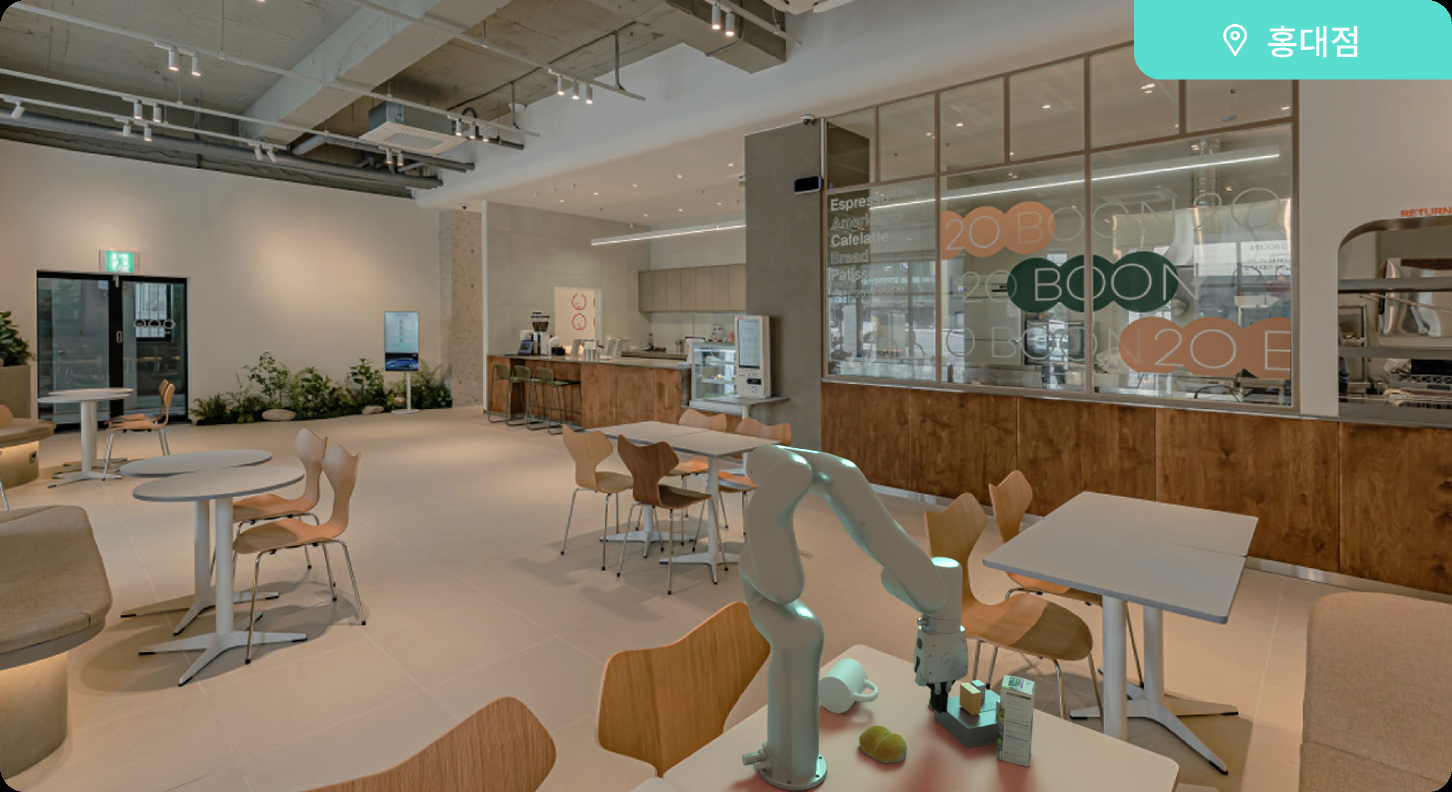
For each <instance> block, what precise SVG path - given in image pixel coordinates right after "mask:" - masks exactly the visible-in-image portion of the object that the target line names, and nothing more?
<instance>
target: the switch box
mask: <svg viewBox="0 0 1452 792" xmlns="http://www.w3.org/2000/svg"><path fill="white" fill-rule="evenodd" d="M970 684H971V685H972V686H974V687H975V688H976V689H978V690H979V691H980V692H981V709H980V713H979V714H974V715H971V714H970V713H969V712H968V711H967V710H965V709H964V708H963V707H962V706H960V695H956V696H955V695H954V696H951V697H950V696H948V705H947V712H945V713H944V712H942V713H938V712H937V711H936V710H935V711H934V714H933V715H934V717H933V719H934V720H935V721H937V723H939V724H940V725H941V726H942V727H943V728H945V730H947V732H949V733H950V734H951V735H952V736H953V737H954V738H956V740H958V741H959V742H960V743H961V744H962V745H963V746H964V747H965V748H966V749H971V748H976V747H982V746H986V745H990V744H996V743H997V742H998V724H999V707H1000V695H999V694H997V692H994V691H993V690H992V689H986V686H987V685H986V684H985V683H984V682H982V681H981V680H979V679H976V680H971V681H970Z"/></svg>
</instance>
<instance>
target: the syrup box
mask: <svg viewBox="0 0 1452 792" xmlns="http://www.w3.org/2000/svg"><path fill="white" fill-rule="evenodd" d="M1035 689H1036V682H1035V681H1032V680H1030V679H1026V678H1023V677H1019V676H1013V675H1006V674H1004V675H1003V679H1002V683H1001V687H1000V692H999V694H1000V695H999V696H1000V707H999V724H998V742H996V743H997V746H996V759H997V760H999V761H1004V762H1007V763H1011V764H1015V765H1020V766H1023V767H1026V768H1028V767H1030V761H1031V753H1032V752H1031V751H1032V741H1033V728H1034V727H1033V726H1034V725H1033V722H1034V707H1035Z"/></svg>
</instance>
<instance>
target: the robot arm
mask: <svg viewBox="0 0 1452 792" xmlns="http://www.w3.org/2000/svg"><path fill="white" fill-rule="evenodd" d="M745 470H746V474H747V475H746V476H747V477H748V479H749V481H751V483H752V484H753V485H755V487H757V488H756V489H755V491H754V492H753V494H752V496H751V498H750V500H749V502H748V505H747V507H746V509H745V513H744V529H745V535H746V539H747V542H745V543H744V545H743V546H742V548H741V550H740V552H739V556H738V560H737V561H738V562H737V570H738V575H739V579H740V580H739V581H740V583H741V587H742V591H743V595H744V598H745V603H746V606H747V609H748V610H747V611H748V613H749V617H750V619H751V621H752V623H753V625H754V628H756V630H757V631H758V632H759V633H760V634H761V636H763V638H764V639H765V640H766V641H767V642H768V643H769V644H770V647H771V658H770V662H769V665H768V669H767V679H766V681H767V683H766V684H767V687H766V688H767V713H766V714H767V715H766V716H767V725H766V729H767V731H766V732H767V738H766V739H767V740H766V741H764V742H762V743H761V746H762V747H761V748H759V749H757V751H755V752H749V753H743V754H741V761H742V764H743V767H747V766H752V768H753V771H754V772H759V773H760V775H761V777H762V778H763V779H764V781H766V782H767V783H769V784H771V786H774V787H776V788H778V789H782V790H787V791H797V792H798V791H805V790H809V789H813V788H815V787H817V786H819V785H820V784H821V783H822V782H823V781H824V780H825V779H826V777H827V775H828V774H827V773H828V764H827V761H826V759H825V757H824V756H823V755H822V754H821V753H820V700H819V681H820V676H821V675H820V673H821V661H822V656H823V653H824V648H825V640H826V639H825V638H826V637H825V635H826V634H825V629H824V626H823V624H822V622H821V620H820V619H819V617H818V615H816V613H815V612H814V611H813V610H812V609H811V608H810V607H808V606H807V605H806V604H805V603H804V602H802V601H801V600H799V599H800V597H801V596H802V594H803V592H804V589H805V587H806V586H805V585H806V576H805V569H804V566H803V562H802V559H801V555H800V550H799V547H798V542H797V539H796V538H797V537H796V535H795V529H794V516H795V513H796V510H797V508H798V506H799V505H800V503H802V502H801V501H802V500H803V499H804V497H806V495H807V494H812V495H815V496H817V497H819V498H821V499H823V500H824V502H825V503H826V504H827V505H828V506H829V508H830V509H831V512H833V514H834V516H836V518H837V519H838V520H839V522H840V524H841V525H842V526H843V528H844V530H845V531H846V532H847V534H848V535H849V537H850V538H851V540H852V541H853V542H854V543H855V544H856V545H857V546H858V548H860V549H861V550H862V551H863V552H864V553H865V555H866V554H867V555H868V556H869V557H870V558H871V559H873V560H874V561H876V562H877V563H878V564H880V565H881V567H883V568H882V570H881V573H880V582H881V585H882V587H883V588H884V590H885V591H886V592H887V593H889V594H890V595H891V596H893V597H894V598H896V599H897V600H899V601H901V602H903V603H904V604H905V605H907V606H909V607H910V608H912V609H914V610H915V611H917V612H918V613H920V618H917V619H916V624H917V626H918V628H917V629H918V630H917V632H916V633H917V634H916V637H915V644H914V650H913V651H914V653H913V671H914V673H915V679H914V683H915V684H916V685H917V686H919V687H927V688H929V689H930V695H929V696H930V697H929V699H930V704H931V706H932V707H933V708H934V709H935V710H936V711H937V712H938V713H942V712H944V713H945V712H947V705H948V698H949V693H951V691H952V687H953V685H955V682H957V681H960V680H962V679H964V678H965V677H967V676H968V674H969V646H968V640H967V635H966V634H967V633H966V630H965V629H966V628H965V627H964V626H962V607H963V605H962V604H963V603H962V602H963V566H962V565H961V564H960V562H959V561H957V560H955V559H953V558H949V557H944V556H935V557H929V555H927V553H926V552H925V551H924V550H923V549H922V548H921V546H920V545H919V544H918V543H917V542H916V541H915V540H914V539H913V538H912V537H911V536H910V535H909V533H908V532H907V531H906V530H905V529H904V528H903V527H902V526H901V524H899V523H898V521H896V519H894V517H893V516H892V515H891V513H890V512H889V511H888V509H887V507H886V506H885V505H884V503H883V502H882V500H881V498H880V497H879V495H878V494H877V493H876V491H875V489H874V488H873V487H872V485H871V484H870V482H869V481H868V479H867V478H866V476H865V474H864V473H863V472H862V470H861V469H860V468H859V467H858V465H856V464H855V463H854V462H853V461H851V460H849V459H846V458H843V457H840V456H837V455H834V454H831V453H828V452H824V451H817V450H809V449H803V448H802V449H801V448H796V447H789V446H784V445H778V444H772V443H771V444H769V443H768V444H762V445H760V446H758V447H756V448H755V449H754V450H752V451H751V453H750V454H749V455H748V457H747V459H746V464H745Z"/></svg>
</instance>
